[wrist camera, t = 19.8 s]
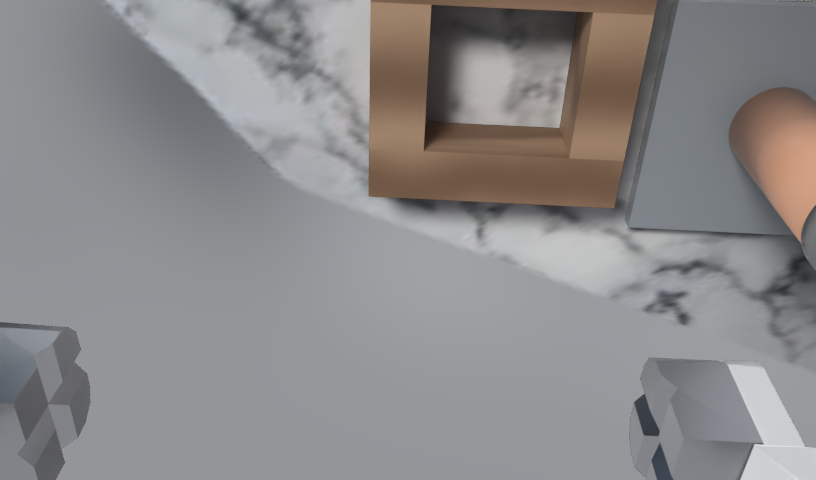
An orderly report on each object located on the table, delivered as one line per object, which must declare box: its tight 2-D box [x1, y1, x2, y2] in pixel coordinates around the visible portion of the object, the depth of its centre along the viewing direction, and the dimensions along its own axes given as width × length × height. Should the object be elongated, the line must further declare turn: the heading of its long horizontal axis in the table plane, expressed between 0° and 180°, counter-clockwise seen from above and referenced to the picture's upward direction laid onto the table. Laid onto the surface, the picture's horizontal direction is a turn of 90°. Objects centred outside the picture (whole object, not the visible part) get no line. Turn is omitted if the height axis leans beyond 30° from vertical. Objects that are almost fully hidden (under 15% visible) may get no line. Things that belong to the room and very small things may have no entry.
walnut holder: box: [369, 0, 657, 208], centre depth 42 cm, size 14×14×4 cm
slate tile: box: [625, 0, 816, 236], centre depth 45 cm, size 14×14×1 cm
